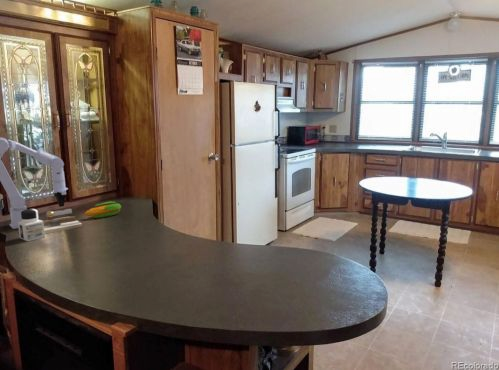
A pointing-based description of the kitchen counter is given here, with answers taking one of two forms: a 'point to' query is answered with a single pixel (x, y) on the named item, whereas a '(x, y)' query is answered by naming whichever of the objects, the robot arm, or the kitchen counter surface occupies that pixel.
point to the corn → (104, 210)
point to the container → (30, 225)
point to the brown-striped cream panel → (60, 224)
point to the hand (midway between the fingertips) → (61, 206)
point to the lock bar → (58, 212)
